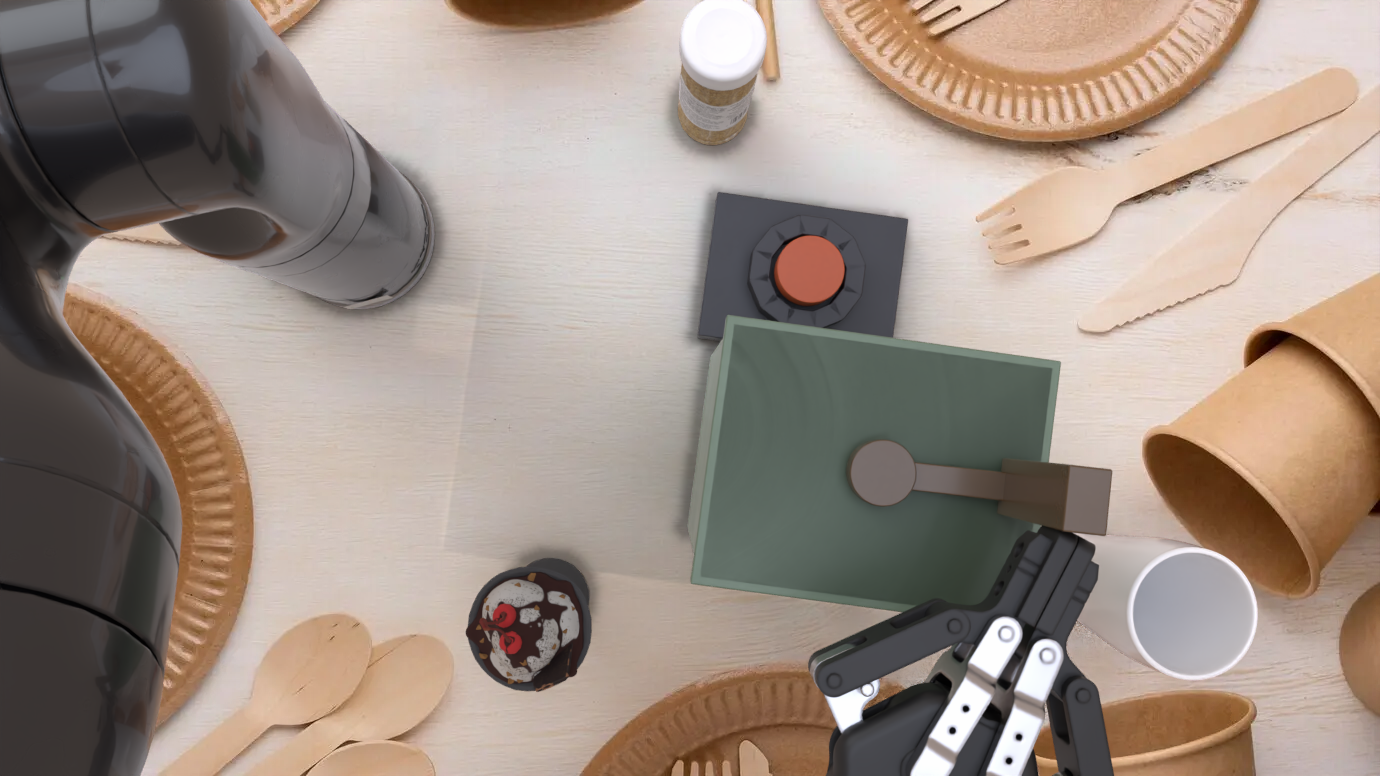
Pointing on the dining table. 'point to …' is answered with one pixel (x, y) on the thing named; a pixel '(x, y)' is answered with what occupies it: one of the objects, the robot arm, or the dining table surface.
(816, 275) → the button
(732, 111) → the sprinkles bottle
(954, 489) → the lever
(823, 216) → the control box
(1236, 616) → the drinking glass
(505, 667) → the sundae
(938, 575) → the block
